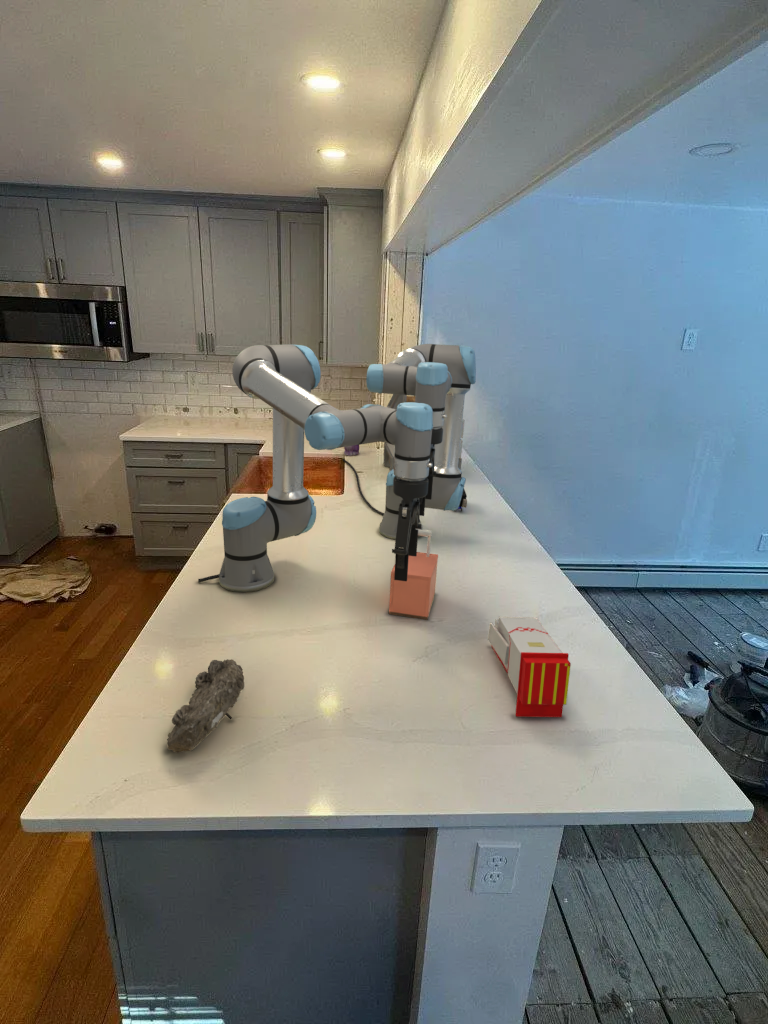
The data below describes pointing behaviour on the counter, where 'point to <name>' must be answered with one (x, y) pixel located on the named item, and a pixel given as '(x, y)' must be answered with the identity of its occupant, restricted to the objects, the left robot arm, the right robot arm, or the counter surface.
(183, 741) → the fossil
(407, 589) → the chest
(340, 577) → the counter surface
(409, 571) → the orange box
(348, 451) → the figurine
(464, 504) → the figurine character
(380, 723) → the counter surface
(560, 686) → the toy
